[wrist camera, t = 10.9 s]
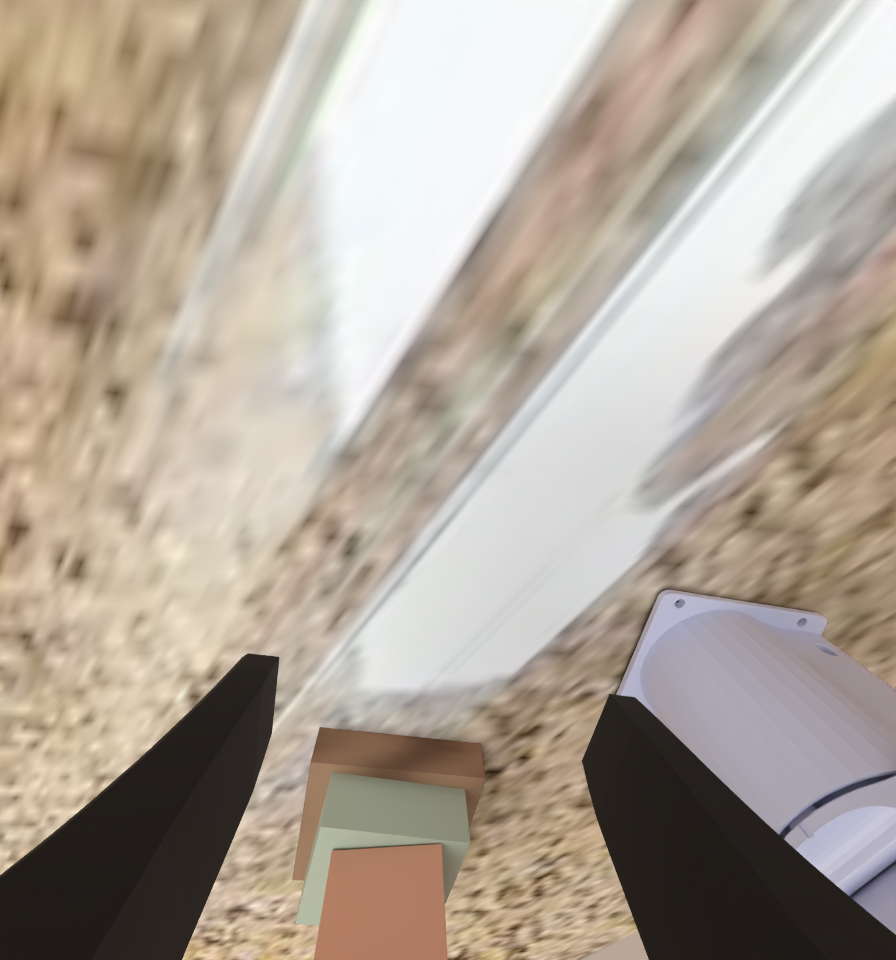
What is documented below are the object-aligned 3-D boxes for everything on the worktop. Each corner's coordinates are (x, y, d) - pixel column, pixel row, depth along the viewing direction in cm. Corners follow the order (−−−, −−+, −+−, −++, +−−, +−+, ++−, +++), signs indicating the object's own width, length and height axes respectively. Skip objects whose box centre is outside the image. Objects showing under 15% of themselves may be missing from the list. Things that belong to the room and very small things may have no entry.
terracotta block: (441, 843, 19) (449, 1008, 14) (438, 910, 21) (445, 1077, 16) (331, 850, 19) (303, 1022, 14) (337, 918, 20) (313, 1092, 16)
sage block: (464, 789, 22) (470, 843, 19) (430, 875, 24) (432, 934, 21) (331, 771, 21) (320, 826, 18) (308, 863, 23) (295, 923, 20)
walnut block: (479, 735, 24) (485, 778, 22) (446, 839, 27) (449, 888, 24) (322, 718, 23) (310, 762, 20) (304, 829, 25) (292, 879, 23)
